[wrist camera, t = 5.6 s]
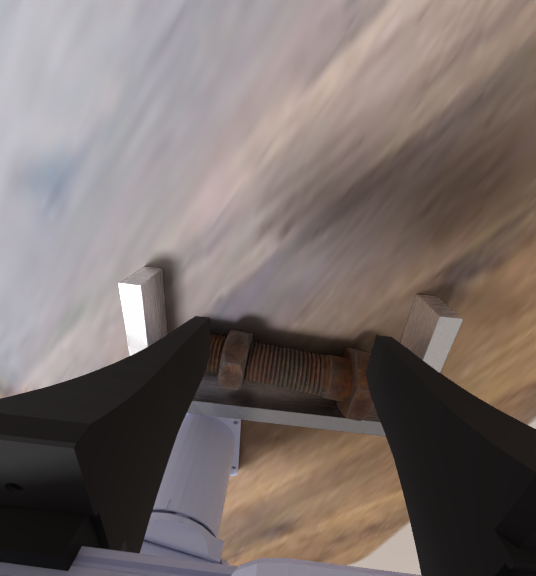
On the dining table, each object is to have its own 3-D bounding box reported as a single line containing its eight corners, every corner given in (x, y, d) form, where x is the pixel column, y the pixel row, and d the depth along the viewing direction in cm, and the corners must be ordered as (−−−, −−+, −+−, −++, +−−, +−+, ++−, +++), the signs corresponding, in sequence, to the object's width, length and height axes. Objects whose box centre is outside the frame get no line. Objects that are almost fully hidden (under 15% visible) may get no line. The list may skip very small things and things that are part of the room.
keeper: (395, 405, 25) (411, 439, 22) (156, 378, 26) (137, 407, 23) (436, 296, 21) (463, 318, 18) (143, 266, 21) (118, 283, 18)
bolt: (199, 317, 25) (357, 348, 25) (187, 371, 25) (349, 403, 24) (177, 317, 19) (384, 357, 19) (161, 387, 19) (373, 430, 18)
